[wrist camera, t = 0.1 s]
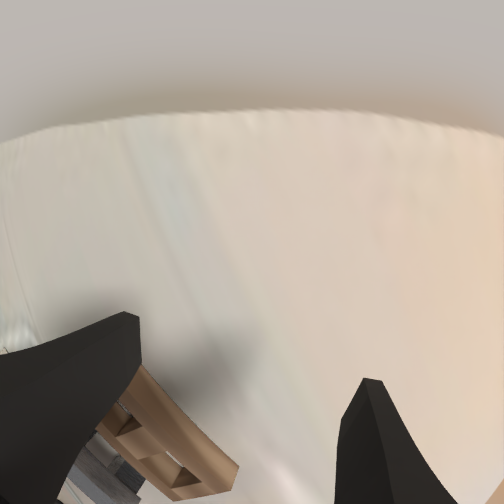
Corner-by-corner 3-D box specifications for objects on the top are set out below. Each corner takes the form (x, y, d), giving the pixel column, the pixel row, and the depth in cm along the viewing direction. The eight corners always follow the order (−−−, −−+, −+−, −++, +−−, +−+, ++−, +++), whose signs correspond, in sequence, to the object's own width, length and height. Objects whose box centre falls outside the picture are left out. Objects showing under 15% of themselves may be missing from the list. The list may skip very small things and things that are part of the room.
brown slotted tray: (183, 481, 26) (173, 501, 23) (80, 373, 25) (61, 388, 22) (239, 466, 24) (230, 490, 21) (122, 341, 23) (101, 358, 20)
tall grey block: (136, 477, 27) (110, 515, 21) (67, 406, 27) (31, 438, 21) (157, 473, 26) (131, 515, 20) (83, 396, 26) (44, 431, 20)
